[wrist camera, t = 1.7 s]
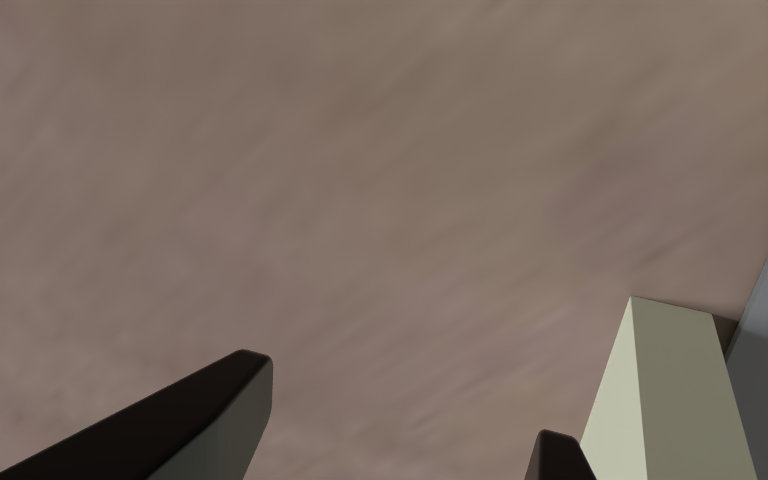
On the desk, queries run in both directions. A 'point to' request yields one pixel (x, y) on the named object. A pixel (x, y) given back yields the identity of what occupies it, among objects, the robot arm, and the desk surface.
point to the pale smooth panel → (666, 402)
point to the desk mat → (752, 373)
